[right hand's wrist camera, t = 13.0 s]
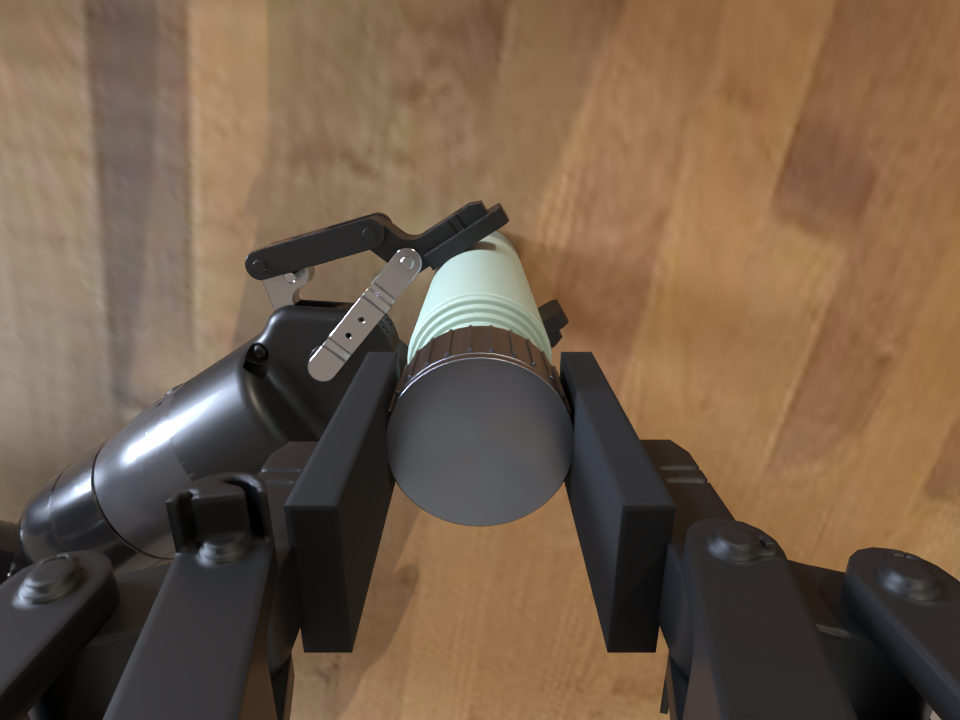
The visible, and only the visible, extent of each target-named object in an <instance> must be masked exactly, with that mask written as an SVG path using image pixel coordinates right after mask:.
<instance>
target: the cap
mask: <svg viewBox="0 0 960 720" xmlns="http://www.w3.org/2000/svg"><path fill="white" fill-rule="evenodd" d="M388 412H389V414H390V415H389V418H388V421H387V425H386V440H387V456H388V466H389V468H390V471H391V473H392V475H393V477H394V479H395V481H396V482H397V484H398V486H399V487H400V488H401V490H402V491H403V492H404V493H405V495H406V496H407V497H408V498H409V499H410V500H411V501H413V502H414V503H415V504H416V505H417V506H419V507H420V508H421V509H423V510H424V511H426V512H428V513H430V514H431V515H433V516H435V517H438V518H440V519H442V520H445V521H448V522H452V523H455V524H460V525H466V526H493V525H500V524H504V523H508V522H512V521H515V520H517V519H520V518H522V517H525V516H526V515H528V514H530V513H532V512H534V511H535V510H537V509H538V508H540V507H541V506H542V505H544V504H545V503H546V502H547V501H548V500H549V499H550V498H551V497H552V496H553V495H554V494H555V493H556V492H557V491H558V489H559V488H560V487H561V485H562V483H563V482H564V480H565V479H566V477H567V474H568V472H569V470H570V467H571V464H572V450H573V434H574V426H573V422H572V419H571V410H570V408H569V405H568V402H567V399H566V395H565V392H564V389H563V387H562V384H561V381H560V378H559V375H558V372H557V369H556V367H555V366H552V365H551V363H550V362H549V360H548V359H547V357H546V354H545V352H544V351H541V350H540V349H539V348H537V347H536V346H535V345H534V344H533V343H532V342H531V340H530V339H529V338H527V339H525V338H524V337H522V336H520V335H518V334H516V333H514V332H513V330H509V331H508V330H505V329H502V328H497V327H493V325H489V326H472V325H469V326H468V327H462V328H458V329H454V330H452V329H450V330H449V331H448V332H446V333H444V334H442V335H439V336H437V337H436V338H434V337H433V338H431V340H430V342H428V343H427V344H426V345H425V346H423V347H422V348H421V349H420V350H419V349H417V350H416V352H415V355H414V357H413V358H412V360H411V361H410V363H409V364H408V365H407V364H406V365H405V367H404V369H403V372H402V375H401V378H400V381H398V384H397V387H396V390H395V393H394V396H393V398H392V401H391V404H390V407H389V410H388Z"/></svg>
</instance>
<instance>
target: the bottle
mask: <svg viewBox="0 0 960 720" xmlns="http://www.w3.org/2000/svg"><path fill="white" fill-rule="evenodd" d="M469 325H472V326H489V325H493V327H497V328H502V329H505V330H508V331H509V330H513V332H514V333H516V334H518V335H520V336H522V337H524V338H525V339H527V338H529V339H530V340H531V342H532V343H533V344H534V345H535V346H536V347H537V348H539V349H540V350H541V351H544V352H545V354H546V357H547V359H548V360H549V362H550V363H551V365H552V351H551V346H550V341H549V339H548V336H547V333H546V330H545V328H544V325H543V322H542V320H541V317H540V314H539V311H538V309H537V306H536V303H535V300H534V298H533V295H532V292H531V289H530V287H529V284H528V281H527V278H526V276H525V273H524V270H523V267H522V265H521V262H520V259H519V256H518V254H517V251H516V249H515V247H514V246H513V244H512V243H511V242H510V241H509V240H508V239H507V238H506V237H505V236H504V235H502V234H501V233H499V232H497V231H494V232H493V233H491V234H490V235H488V236H487V237H485V238H483V239H482V240H480V241H479V242H477V243H476V244H474V245H472V246H471V247H469V248H468V249H466V250H465V251H463V252H461V253H460V254H458V255H456V256H455V257H453V258H451V259H450V260H448V261H447V262H446V263H444V264H443V265H441V266H439V267H438V268H436V271H435V274H434V277H433V280H432V282H431V285H430V288H429V291H428V293H427V296H426V299H425V302H424V304H423V307H422V310H421V313H420V315H419V318H418V321H417V324H416V326H415V329H414V332H413V335H412V337H411V340H410V344H409V348H408V357H407V358H408V364H409V363H410V361H411V360H412V358H413V357H414V355H415V352H416V350H417V349H419V350H420V349H421V348H422V347H423V346H425V345H426V344H427V343H428V342H430V340H431V338H433V337H434V338H436V337H437V336H439V335H442V334H444V333H446V332H448V331H449V330H450V329H452V330H454V329H458V328H462V327H468V326H469Z"/></svg>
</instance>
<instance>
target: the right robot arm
mask: <svg viewBox="0 0 960 720" xmlns="http://www.w3.org/2000/svg"><path fill="white" fill-rule="evenodd" d="M398 381H400V369H399V352H368V353H367V355H366V357H365V359H364V361H363V362H362V364H361V366H360V368H359V370H358V372H357V373H356V375H355V377H354V379H353V381H352V382H351V384H350V386H349V388H348V390H347V392H346V393H345V395H344V397H343V399H342V401H341V402H340V404H339V406H338V408H337V410H336V412H335V413H334V415H333V417H332V419H331V421H330V422H329V424H328V426H327V428H326V430H325V432H324V433H323V435H322V437H321V439H320V441H319V442H289V443H287V444H286V445H284V446H283V447H281V448H280V449H278V450H277V451H275V452H274V453H272V454H271V455H270V457H269V458H268V460H267V461H266V463H265V464H264V466H263V467H262V468H261V472H259V473H258V474H257V475H253V474H249V473H245V472H225V473H220V474H215V475H210V476H206V477H203V478H201V479H198V480H195V481H193V482H190V483H188V484H186V485H185V486H183V487H182V488H180V489H178V490H177V491H175V492H174V493H173V494H172V495H171V496H170V498H169V499H168V500H167V501H166V502H165V505H166V509H167V514H168V518H169V523H170V527H171V532H172V536H173V541H174V545H175V550H176V554H175V556H174V559H173V561H172V562H171V563H167V564H163V565H160V566H156V567H151V568H147V569H142V570H137V571H132V572H128V573H123V574H118V575H115V574H114V570H113V567H112V563H111V560H110V559H109V558H108V557H107V556H106V555H104V554H103V553H101V552H96V551H90V550H82V551H71V552H65V553H60V554H57V555H53V556H50V557H47V558H44V559H42V560H40V561H38V562H36V563H34V564H32V565H30V566H28V567H26V568H23V569H22V570H20V571H19V572H18V573H16V574H15V575H13V576H12V577H10V578H9V579H8V580H6V581H5V582H3V583H2V584H1V585H0V720H22V719H23V718H24V716H25V715H26V714H27V713H28V714H29V717H30V720H290V713H291V704H292V695H293V686H294V677H295V675H294V668H293V661H292V654H291V650H292V648H293V645H294V642H295V640H296V637H297V634H298V632H299V629H300V627H301V634H302V641H303V648H304V652H352V650H353V646H354V642H355V639H356V635H357V631H358V627H359V623H360V619H361V615H362V611H363V607H364V603H365V599H366V595H367V591H368V587H369V583H370V579H371V575H372V571H373V568H374V564H375V560H376V556H377V552H378V548H379V544H380V540H381V536H382V532H383V528H384V524H385V520H386V516H387V512H388V508H389V504H390V501H391V497H392V493H393V489H394V485H395V479H394V477H393V475H392V473H391V471H390V468H389V466H388V456H387V440H386V425H387V421H388V418H389V415H390V414H389V412H388V410H389V407H390V404H391V401H392V398H393V396H394V393H395V390H396V387H397V384H398ZM560 381H561V384H562V387H563V389H564V392H565V395H566V399H567V402H568V405H569V408H570V410H571V419H572V422H573V426H574V434H573V450H572V464H571V467H570V470H569V472H568V474H567V477H566V479H565V480H564V482H565V486H566V490H567V494H568V498H569V502H570V506H571V510H572V514H573V518H574V522H575V526H576V530H577V533H578V537H579V541H580V545H581V549H582V553H583V557H584V561H585V565H586V569H587V573H588V577H589V581H590V585H591V589H592V593H593V597H594V601H595V604H596V608H597V612H598V616H599V620H600V624H601V628H602V632H603V636H604V640H605V644H606V648H607V652H656V646H657V639H658V631H659V625H660V627H661V630H662V633H663V635H664V638H665V640H666V643H667V646H668V648H669V654H668V661H667V668H666V674H665V681H664V688H663V694H662V701H661V708H660V713H664V714H668V708H669V712H670V720H931V719H930V716H931V713H932V710H934V711H935V713H936V714H937V715H938V716H939V717H940V719H941V720H960V582H959V581H958V580H957V579H955V578H954V577H953V576H951V575H950V574H948V573H947V572H945V571H944V570H942V569H941V568H940V567H938V566H936V565H934V564H932V563H930V562H928V561H926V560H923V559H921V558H920V557H918V556H916V555H913V554H910V553H907V552H906V553H904V552H903V551H898V550H894V549H885V548H874V547H872V548H867V549H861V550H857V551H856V552H855V553H854V554H853V555H852V556H850V558H849V561H848V565H847V569H846V572H845V573H844V572H840V571H835V570H830V569H825V568H820V567H816V566H811V565H806V564H802V563H798V562H794V561H791V560H787V558H786V555H785V553H784V551H783V550H782V549H781V547H780V546H779V545H778V543H777V542H776V540H774V539H773V538H772V537H770V536H769V535H767V534H766V533H765V532H763V531H762V530H760V529H758V528H755V527H753V526H751V525H749V524H746V523H744V522H740V521H736V520H735V519H734V517H733V516H732V515H731V513H730V512H729V510H728V509H727V507H726V506H725V504H724V503H723V502H722V500H721V499H720V497H719V496H718V494H717V493H716V491H715V490H714V488H713V487H712V486H711V484H710V483H708V482H707V478H706V477H705V475H704V474H703V472H702V471H701V470H699V467H698V465H697V464H696V462H695V461H694V459H693V458H692V457H691V455H690V454H689V452H687V451H686V450H684V449H683V448H681V447H680V446H678V445H677V444H675V443H674V442H672V441H671V440H640V439H639V438H638V436H637V434H636V432H635V430H634V429H633V427H632V425H631V423H630V421H629V419H628V418H627V416H626V414H625V412H624V410H623V409H622V407H621V405H620V403H619V401H618V399H617V398H616V396H615V394H614V392H613V390H612V389H611V387H610V385H609V383H608V381H607V379H606V378H605V376H604V374H603V372H602V370H601V369H600V367H599V365H598V363H597V361H596V359H595V358H594V356H593V354H592V352H561V362H560Z"/></svg>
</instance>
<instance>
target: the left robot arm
mask: <svg viewBox="0 0 960 720" xmlns="http://www.w3.org/2000/svg"><path fill="white" fill-rule="evenodd" d="M508 221H509V218H508V216H507V215H506V213H505V211H504V210H503V208H502V206H501V205H500V203H498V204H496V205H494V206H493V207H491V208H489V209H488V210H487V209H486V207H485V205H484V204H483V202H482V200H481V201H476V202H470V203H468V204H466V205H465V206H463V207H462V208H460V209H459V210H457V211H456V212H454V213H453V214H451V215H450V216H448V217H447V218H445V219H443V220H442V221H440V222H439V223H437V224H436V225H434V226H433V227H431V228H430V229H428V230H427V231H425V232H424V233H422V234H419V235H410V234H407V233H405V232H404V231H402V230H401V229H400V228H398V227H397V226H396V225H394V224H393V223H392V221H391V219H390V218H389V217H388V216H387V215H386V214H383V213H373V214H370V215H366V216H363V217H359V218H356V219H353V220H349V221H346V222H342V223H339V224H335V225H332V226H329V227H325V228H322V229H318V230H315V231H312V232H308V233H305V234H301V235H298V236H295V237H291V238H288V239H284V240H281V241H277V242H274V243H272V244H269V245H267V246H265V247H262V248H260V249H258V250H256V251H254V252H252V253H250V254H249V255H248V256H247V258H246V261H245V267H246V270H247V272H248V273H249V274H250V275H251V276H252V277H253V278H255V279H258V280H262V282H263V284H264V286H265V289H266V291H267V293H268V296H269V298H270V301H271V303H272V305H273V308H274V310H275V312H273V314H272V315H271V316H270V318H269V320H268V322H267V325H266V327H265V328H264V330H263V331H262V333H260V334H259V335H257V336H256V337H254V338H253V339H251V340H250V341H248V342H247V343H245V344H244V345H242V346H241V347H239V348H238V349H236V350H235V351H233V352H232V353H230V354H229V355H227V356H225V357H224V358H222V359H221V360H219V361H218V362H216V363H215V364H213V365H212V366H210V367H209V368H207V369H206V370H204V371H203V372H201V373H200V374H198V375H197V376H195V377H193V378H192V379H191V380H189V381H188V382H186V383H183V384H181V385H178V386H176V387H174V388H173V389H171V390H169V391H168V392H167V393H166V394H165V396H164V397H163V398H161V399H160V400H158V401H157V402H155V403H154V404H152V405H151V406H149V407H148V408H146V409H145V410H144V411H142V412H141V413H140V414H138V415H137V416H136V417H135V418H134V419H133V420H131V421H130V422H129V423H128V424H127V425H126V426H125V427H124V428H123V429H122V430H121V431H120V432H118V433H117V434H116V435H114V436H113V437H111V438H110V439H108V440H107V441H105V442H104V443H102V444H101V445H99V446H98V447H96V448H95V449H93V450H91V451H90V452H88V453H87V454H85V455H84V456H82V457H81V458H79V459H78V460H76V461H75V462H73V463H72V464H70V465H69V466H67V467H66V468H64V469H63V470H61V471H60V472H58V473H57V474H55V475H54V476H52V477H51V478H50V479H49V480H47V481H46V482H45V483H44V484H43V485H42V486H40V487H39V488H38V489H37V490H36V491H35V492H34V494H33V495H32V496H31V497H30V499H29V500H28V502H27V503H26V505H25V507H24V509H23V511H22V514H21V517H20V520H19V524H15V523H11V522H6V521H3V520H0V585H1V584H2V583H3V582H5V581H6V580H8V579H9V578H10V577H12V576H13V575H15V574H16V573H18V572H19V571H20V570H22V569H23V568H26V567H28V566H30V565H32V564H34V563H36V562H38V561H40V560H42V559H44V558H47V557H50V556H53V555H57V554H60V553H65V552H71V551H82V550H90V551H96V552H101V553H103V554H104V555H106V556H107V557H108V558H109V559H110V560H111V563H112V567H113V570H114V574H115V575H118V574H123V573H128V572H132V571H137V570H142V569H147V568H151V567H156V566H160V565H163V564H167V563H171V562H172V561H173V559H174V556H175V554H176V550H175V545H174V541H173V536H172V532H171V527H170V523H169V518H168V514H167V509H166V505H165V502H166V501H167V500H168V499H169V498H170V496H171V495H172V494H173V493H174V492H175V491H177V490H178V489H180V488H182V487H183V486H185V485H186V484H188V483H190V482H193V481H195V480H198V479H201V478H203V477H206V476H210V475H215V474H220V473H225V472H245V473H249V474H253V475H257V474H258V473H259V472H261V468H262V467H263V466H264V464H265V463H266V461H267V460H268V458H269V457H270V455H271V454H272V453H274V452H275V451H277V450H278V449H280V448H281V447H283V446H284V445H286V444H287V443H289V442H319V441H320V439H321V437H322V435H323V433H324V432H325V430H326V428H327V426H328V424H329V422H330V421H331V419H332V417H333V415H334V413H335V412H336V410H337V408H338V406H339V404H340V402H341V401H342V399H343V397H344V395H345V393H346V392H347V390H348V388H349V386H350V384H351V382H352V381H353V379H354V377H355V375H356V373H357V372H358V370H359V368H360V366H361V364H362V362H363V361H364V359H365V357H366V355H367V353H368V352H399V369H400V378H401V375H402V372H403V369H404V367H405V365H406V364H407V365H408V358H407V357H408V348H409V347H408V346H407V345H406V344H404V343H403V342H402V341H401V340H400V339H399V337H398V334H397V331H396V329H395V326H394V323H393V322H392V321H391V319H390V318H389V316H388V315H387V314H386V312H387V311H388V310H389V308H390V307H391V306H392V304H393V303H394V302H395V301H396V299H397V298H398V297H399V296H400V294H401V293H402V292H403V291H404V290H405V288H406V287H407V286H408V285H409V284H410V282H411V281H412V280H413V279H414V277H415V276H416V275H417V274H418V273H420V272H421V271H423V270H424V269H426V268H428V267H429V266H431V268H432V269H433V270H435V269H436V268H438V267H439V266H441V265H443V264H444V263H446V262H447V261H448V260H450V259H451V258H453V257H455V256H456V255H458V254H460V253H461V252H463V251H465V250H466V249H468V248H469V247H471V246H472V245H474V244H476V243H477V242H479V241H480V240H482V239H483V238H485V237H487V236H488V235H490V234H491V233H493V232H494V231H496V230H498V229H499V228H501V227H502V226H504V225H505V224H506V223H507V222H508ZM367 250H371V251H372V252H374V253H375V254H376V255H378V256H379V257H381V258H382V259H383V260H385V261H386V262H387V263H388V264H387V265H386V266H385V267H384V268H383V270H382V271H381V272H380V273H379V275H378V276H377V277H376V278H375V280H374V281H373V282H372V283H371V285H370V286H369V287H368V288H367V290H366V291H365V292H364V293H363V295H362V296H361V297H360V298H359V300H358V301H357V302H356V303H346V302H330V301H314V300H300V298H299V290H300V288H301V287H303V286H304V285H305V284H307V283H308V282H309V281H311V280H312V278H313V277H314V274H315V269H314V266H315V265H318V264H322V263H325V262H329V261H332V260H336V259H339V258H343V257H346V256H350V255H353V254H357V253H360V252H363V251H367ZM538 311H539V314H540V317H541V320H542V322H543V325H544V328H545V330H546V333H547V336H548V339H549V341H550V346H551V348H553V347H554V346H555V345H556V344H557V343H558V342H559V340H560V339H561V338H562V335H561V333H560V331H559V330H560V329H561V328H563V327H564V326H565V325H566V324H567V323H568V321H569V320H568V318H567V316H566V314H565V312H564V311H563V309H562V307H561V306H560V304H559V302H558V301H557V300H552V301H550V302H548V303H546V304H544V305H543V306H541V307H539V308H538ZM22 720H30V717H29V714H28V713H27V714H26V715H25V716H24V718H23V719H22Z"/></svg>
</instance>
